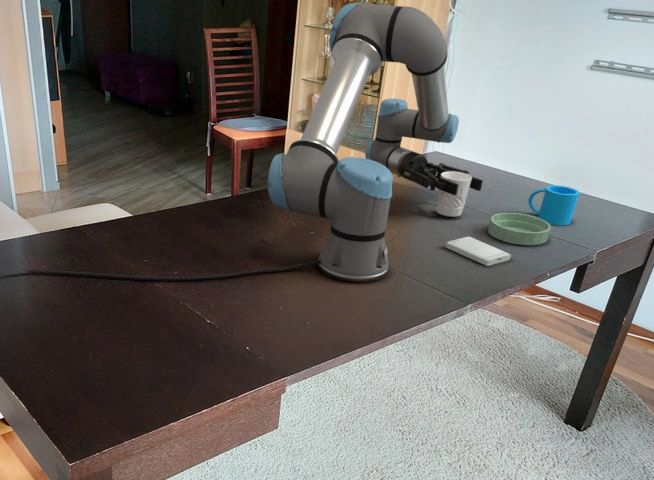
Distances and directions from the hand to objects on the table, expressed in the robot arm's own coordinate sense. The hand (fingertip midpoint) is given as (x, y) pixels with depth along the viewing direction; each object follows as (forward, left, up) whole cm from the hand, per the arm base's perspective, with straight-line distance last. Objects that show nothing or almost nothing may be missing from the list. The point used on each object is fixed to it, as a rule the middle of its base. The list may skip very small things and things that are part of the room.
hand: (468, 187), depth 174 cm
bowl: (+12, -9, -9) cm, 17 cm away
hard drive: (-2, -22, -9) cm, 24 cm away
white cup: (-2, +4, -8) cm, 10 cm away
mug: (+25, +5, -9) cm, 27 cm away
